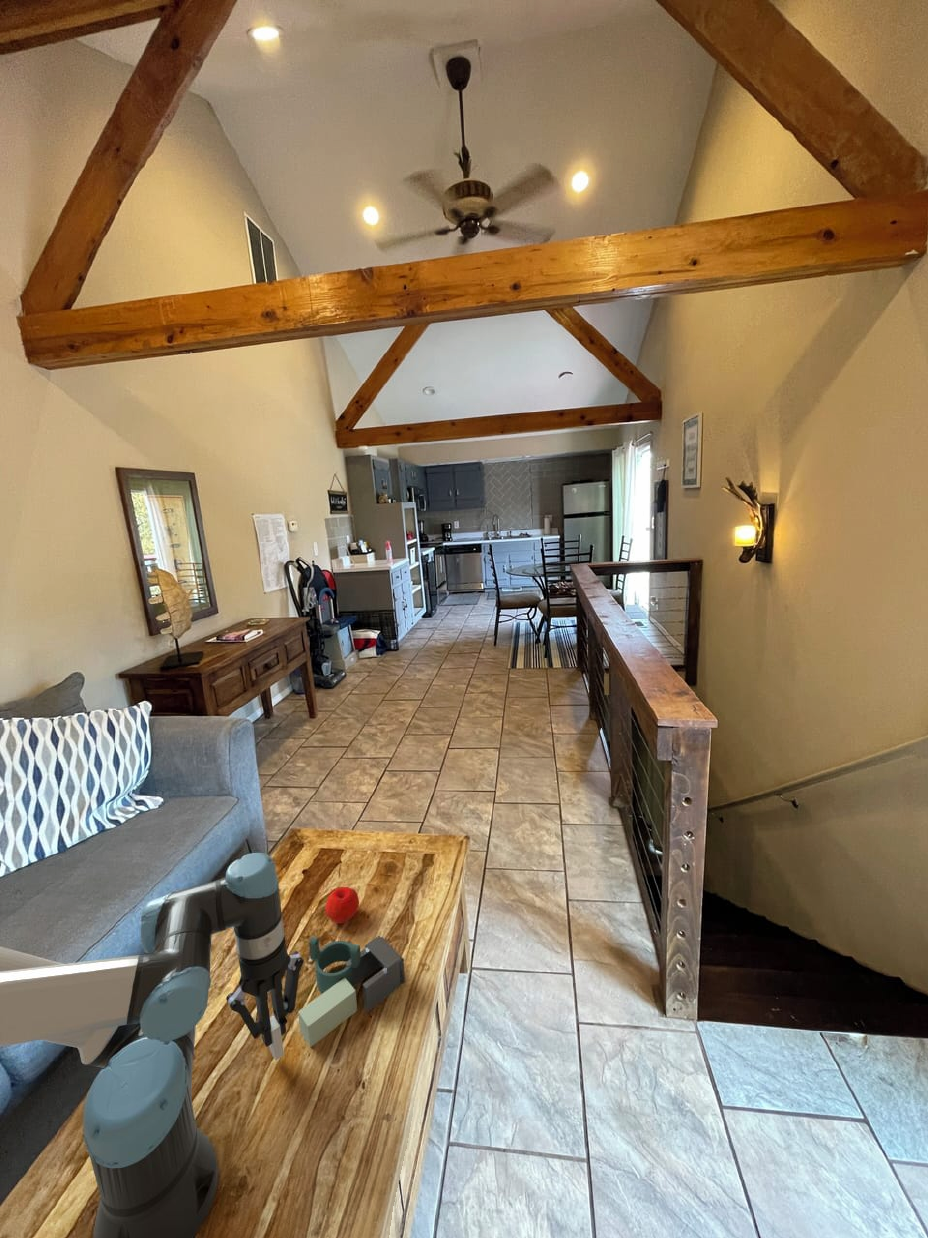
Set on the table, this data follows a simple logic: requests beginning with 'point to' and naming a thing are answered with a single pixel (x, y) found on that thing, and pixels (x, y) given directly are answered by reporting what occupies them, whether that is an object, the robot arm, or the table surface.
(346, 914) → the apple
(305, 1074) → the table surface
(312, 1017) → the block
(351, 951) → the bracket
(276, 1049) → the robot arm
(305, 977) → the table surface
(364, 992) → the endcap
